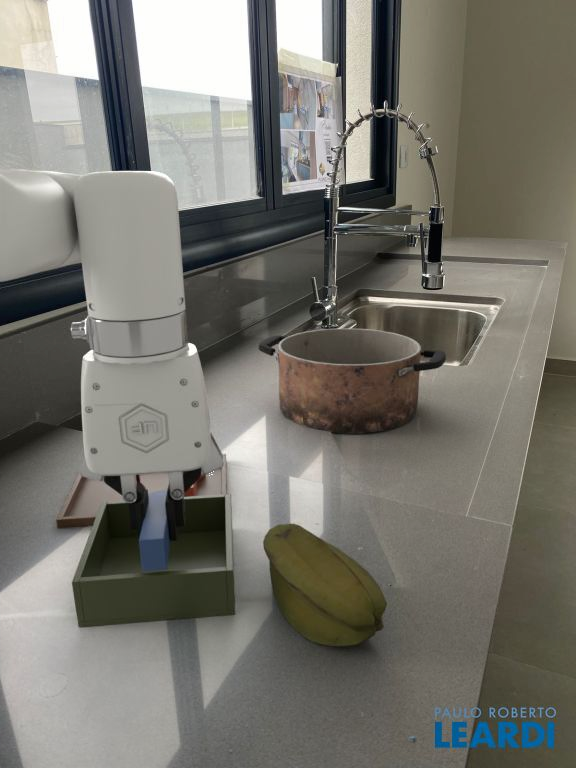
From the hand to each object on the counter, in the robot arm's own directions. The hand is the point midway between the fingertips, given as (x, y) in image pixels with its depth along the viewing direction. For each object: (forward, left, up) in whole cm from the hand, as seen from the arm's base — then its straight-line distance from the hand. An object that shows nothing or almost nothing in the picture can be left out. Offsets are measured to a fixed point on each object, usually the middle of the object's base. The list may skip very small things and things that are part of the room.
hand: (159, 532), depth 54 cm
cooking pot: (+26, +43, -6) cm, 50 cm away
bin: (0, +2, -6) cm, 6 cm away
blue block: (0, +1, -1) cm, 1 cm away
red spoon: (+1, +18, -5) cm, 19 cm away
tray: (-3, +18, -6) cm, 19 cm away
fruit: (+14, -5, -6) cm, 16 cm away
